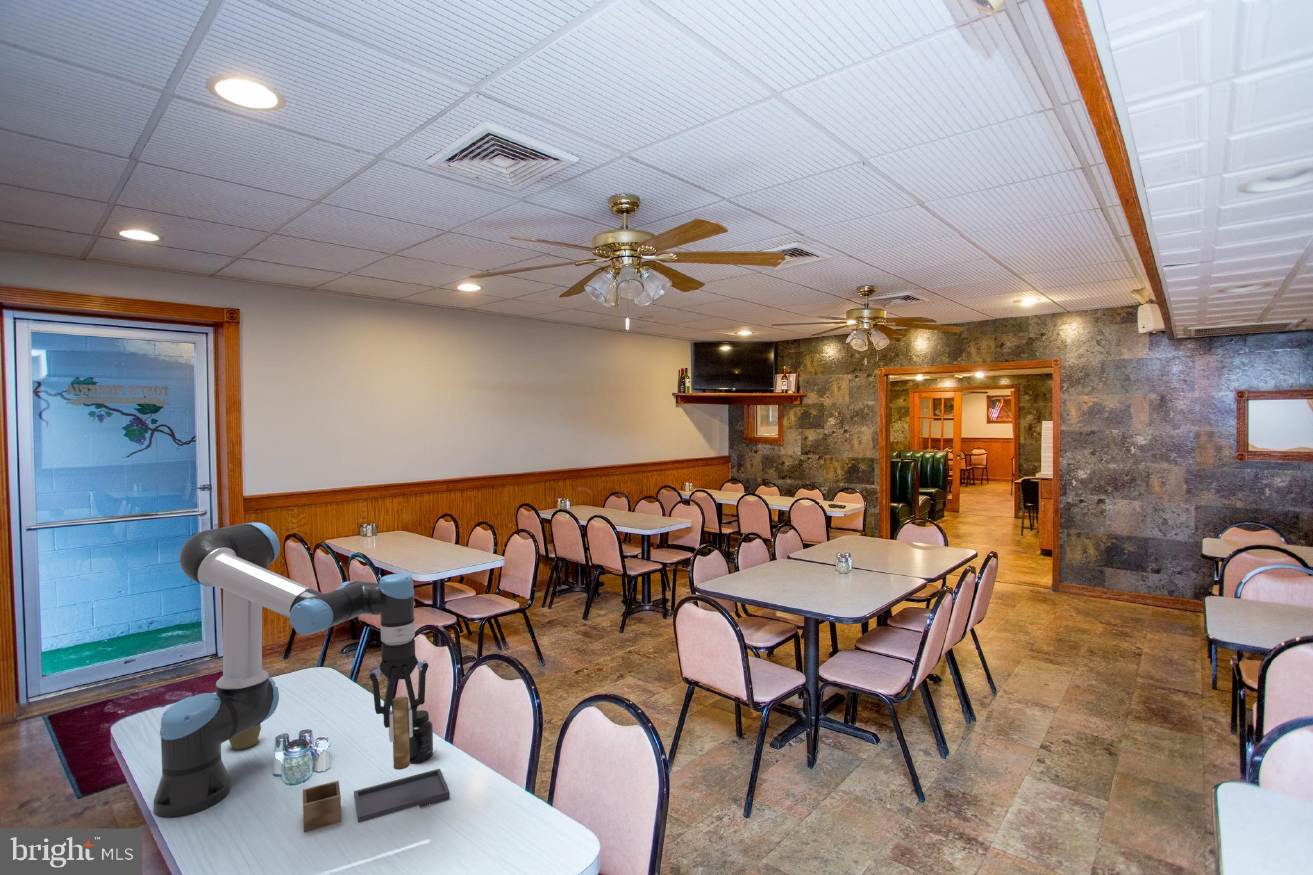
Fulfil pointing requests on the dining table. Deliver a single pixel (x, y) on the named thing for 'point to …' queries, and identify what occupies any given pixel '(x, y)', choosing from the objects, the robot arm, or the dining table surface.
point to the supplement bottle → (421, 738)
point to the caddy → (321, 805)
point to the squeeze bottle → (246, 738)
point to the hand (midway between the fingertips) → (400, 736)
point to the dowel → (400, 733)
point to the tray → (401, 795)
